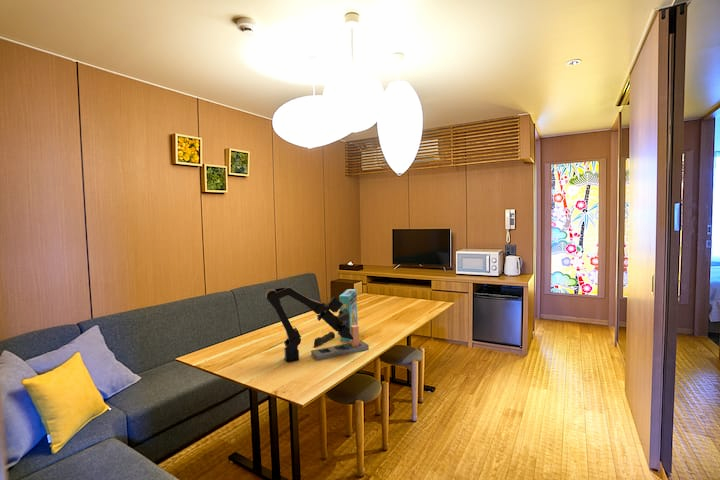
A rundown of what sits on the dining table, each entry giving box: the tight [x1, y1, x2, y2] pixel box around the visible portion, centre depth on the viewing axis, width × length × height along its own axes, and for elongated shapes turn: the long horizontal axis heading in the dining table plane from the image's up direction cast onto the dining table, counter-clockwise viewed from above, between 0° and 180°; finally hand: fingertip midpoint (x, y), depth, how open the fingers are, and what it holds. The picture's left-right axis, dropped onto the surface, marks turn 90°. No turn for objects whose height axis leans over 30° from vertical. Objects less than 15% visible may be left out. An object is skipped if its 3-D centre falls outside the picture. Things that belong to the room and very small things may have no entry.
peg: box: [350, 325, 360, 347], centre depth 208 cm, size 4×4×13 cm
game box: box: [338, 288, 359, 343], centre depth 230 cm, size 20×6×27 cm, turn 168°
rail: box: [310, 340, 370, 361], centre depth 204 cm, size 30×9×2 cm, turn 117°
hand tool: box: [313, 331, 336, 348], centre depth 221 cm, size 19×4×5 cm, turn 149°
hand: (350, 336), depth 207 cm, fingers open, 9 cm apart
